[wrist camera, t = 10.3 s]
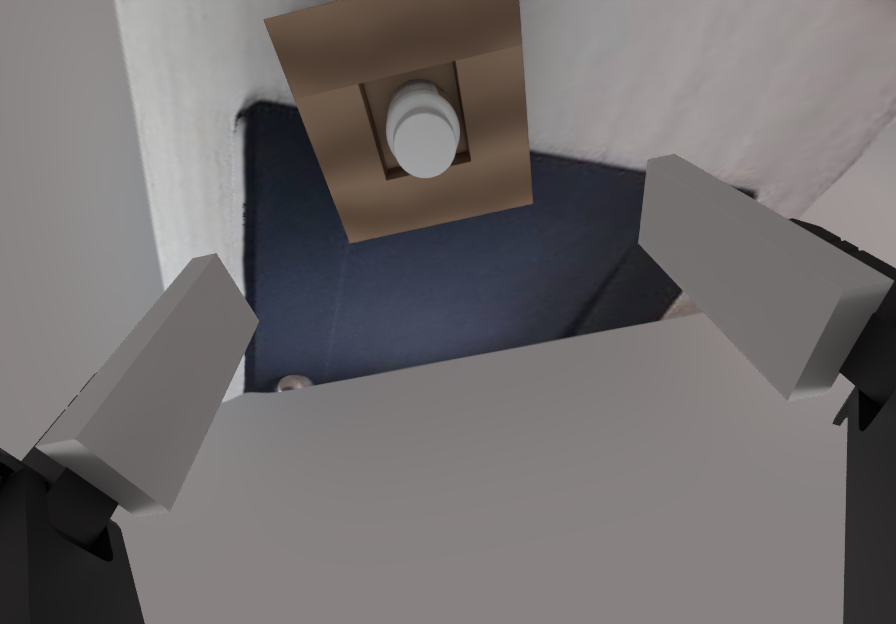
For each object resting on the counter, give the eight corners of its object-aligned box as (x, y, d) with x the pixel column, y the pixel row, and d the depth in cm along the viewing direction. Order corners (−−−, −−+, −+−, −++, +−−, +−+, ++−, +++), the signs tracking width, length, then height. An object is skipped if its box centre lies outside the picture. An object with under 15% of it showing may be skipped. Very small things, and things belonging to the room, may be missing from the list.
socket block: (285, 17, 26) (263, 19, 22) (499, -37, 25) (516, -44, 21) (356, 216, 35) (350, 243, 31) (517, 180, 34) (532, 203, 30)
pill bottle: (455, 142, 29) (469, 180, 23) (395, 152, 29) (393, 192, 23) (447, 72, 26) (461, 95, 20) (381, 83, 27) (375, 109, 20)
